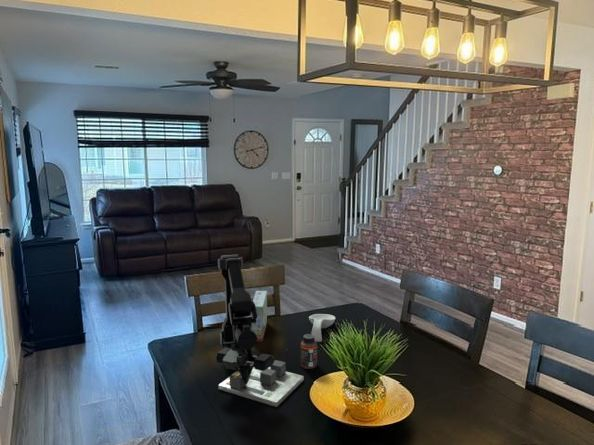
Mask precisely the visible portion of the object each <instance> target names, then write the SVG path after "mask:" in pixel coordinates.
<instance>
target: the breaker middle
mask: <svg viewBox="0 0 594 445" xmlns="http://www.w3.org/2000/svg"><path fill="white" fill-rule="evenodd" d="M275 381H276V371H275V370H271V369H266V370H264V371H262V372H260V383H263V384H267V385H270V386H271V385H272V384H273V383H274V382H275Z"/></svg>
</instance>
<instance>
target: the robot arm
mask: <svg viewBox="0 0 594 445" xmlns="http://www.w3.org/2000/svg"><path fill="white" fill-rule="evenodd" d="M217 267H218V269H219V272H220V274H221V275H222V277H223V279H224V295H225V297H224V299H225V300H224V301H225V319H224V320H223V322H222V324H221V330H220V332H219V342H220V345H221V347H222V349H221V350H220V351H218V352H217V353H216V355H215V361H216V363H219V364H223V365H224V367H225V369H227V370H228V369H230V370H233V371H239V372H240V374H241V376H242V378H243V381H244V383H245V384H247V383H248V380H249V378H250V375H251V372H252V369H253V367H254V368H255V369H257V370H262V371H264V370H266V369H268V368H269V367H270V366H271V365H272V364H274V361H275V359H274V358H275V357H274V356H273V355H272V354H268V353H261V354H259V355H258V356H257V355H255V354H256V350H255V349H253V348H254V347H255V346H256V345H257V342H258V341H257V336H256V334H255V332H254V330H253V328H252V323H256V318H257V312H256V306H255V304H254V302H253V299H252V297H251V294H250V293H249V292H248V291H247V290H246V289H245V283H244V278H243V277H244V276H243V272H242V268H244V260H243V257H242V256H240V257H239V254H226V255H225V254H224V255H223V254H222V255H221V256H220V258H218V259H217ZM251 312H252V316H253V318H252V317H251Z"/></svg>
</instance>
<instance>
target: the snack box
mask: <svg viewBox="0 0 594 445" xmlns="http://www.w3.org/2000/svg"><path fill="white" fill-rule="evenodd" d="M252 301H253V302H254V304H255V306H256V312H257V318H256V323H252V328H253V330H254V332H255V334H256V336H257V342H263V341H264V336H265V332H266V328H267V324H268V290H255V293H254V296H253V299H252ZM250 317H252V318H253V316H252V312H251V316H250Z"/></svg>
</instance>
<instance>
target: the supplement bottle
mask: <svg viewBox="0 0 594 445" xmlns="http://www.w3.org/2000/svg"><path fill="white" fill-rule="evenodd" d="M300 366H301V367H302V368H303V369H306V370H311V369H314V368H316V367H317V366H318V342H316V341H315V337H314V335H312V334H311V333H306V334H304V335H303V340H302V341H301V342H300Z"/></svg>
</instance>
